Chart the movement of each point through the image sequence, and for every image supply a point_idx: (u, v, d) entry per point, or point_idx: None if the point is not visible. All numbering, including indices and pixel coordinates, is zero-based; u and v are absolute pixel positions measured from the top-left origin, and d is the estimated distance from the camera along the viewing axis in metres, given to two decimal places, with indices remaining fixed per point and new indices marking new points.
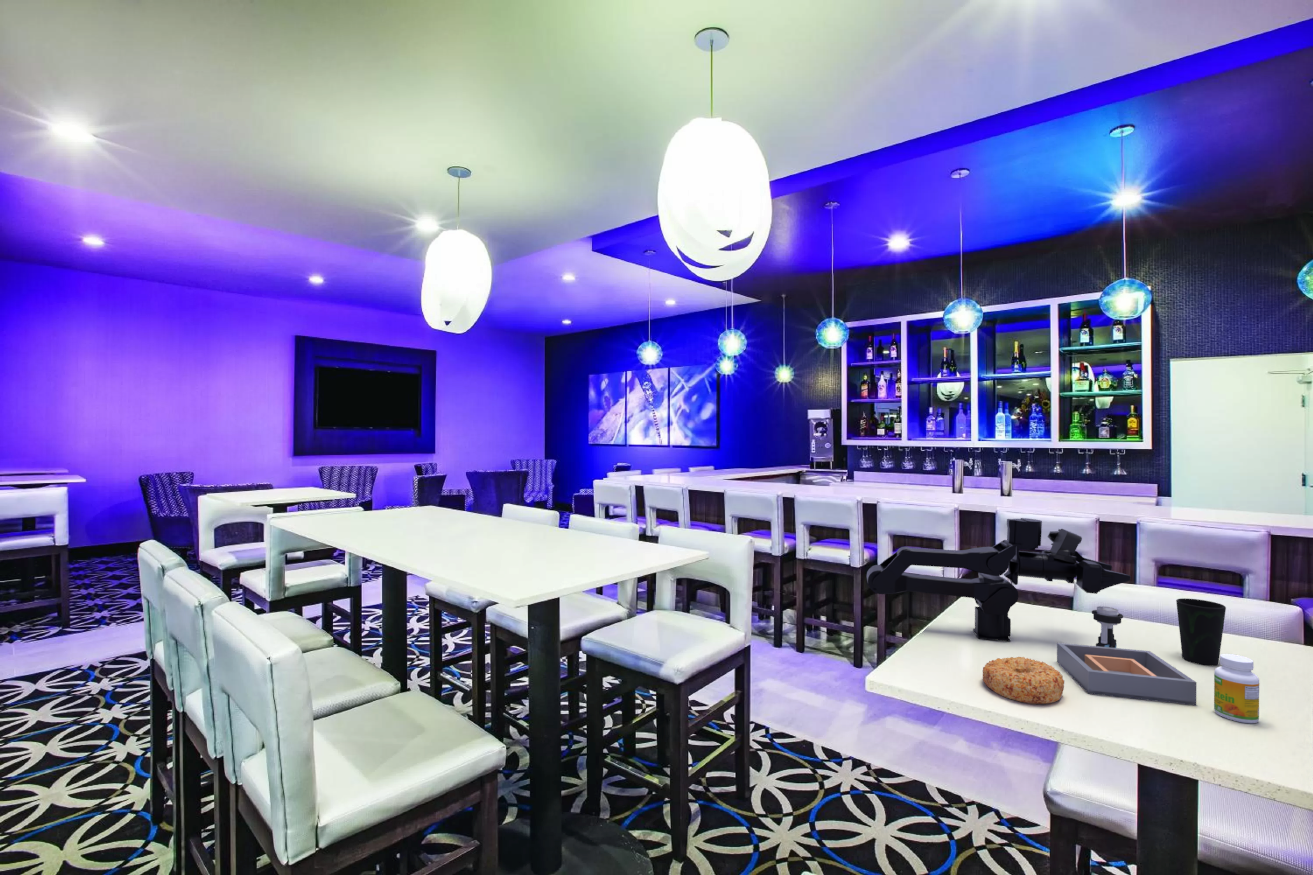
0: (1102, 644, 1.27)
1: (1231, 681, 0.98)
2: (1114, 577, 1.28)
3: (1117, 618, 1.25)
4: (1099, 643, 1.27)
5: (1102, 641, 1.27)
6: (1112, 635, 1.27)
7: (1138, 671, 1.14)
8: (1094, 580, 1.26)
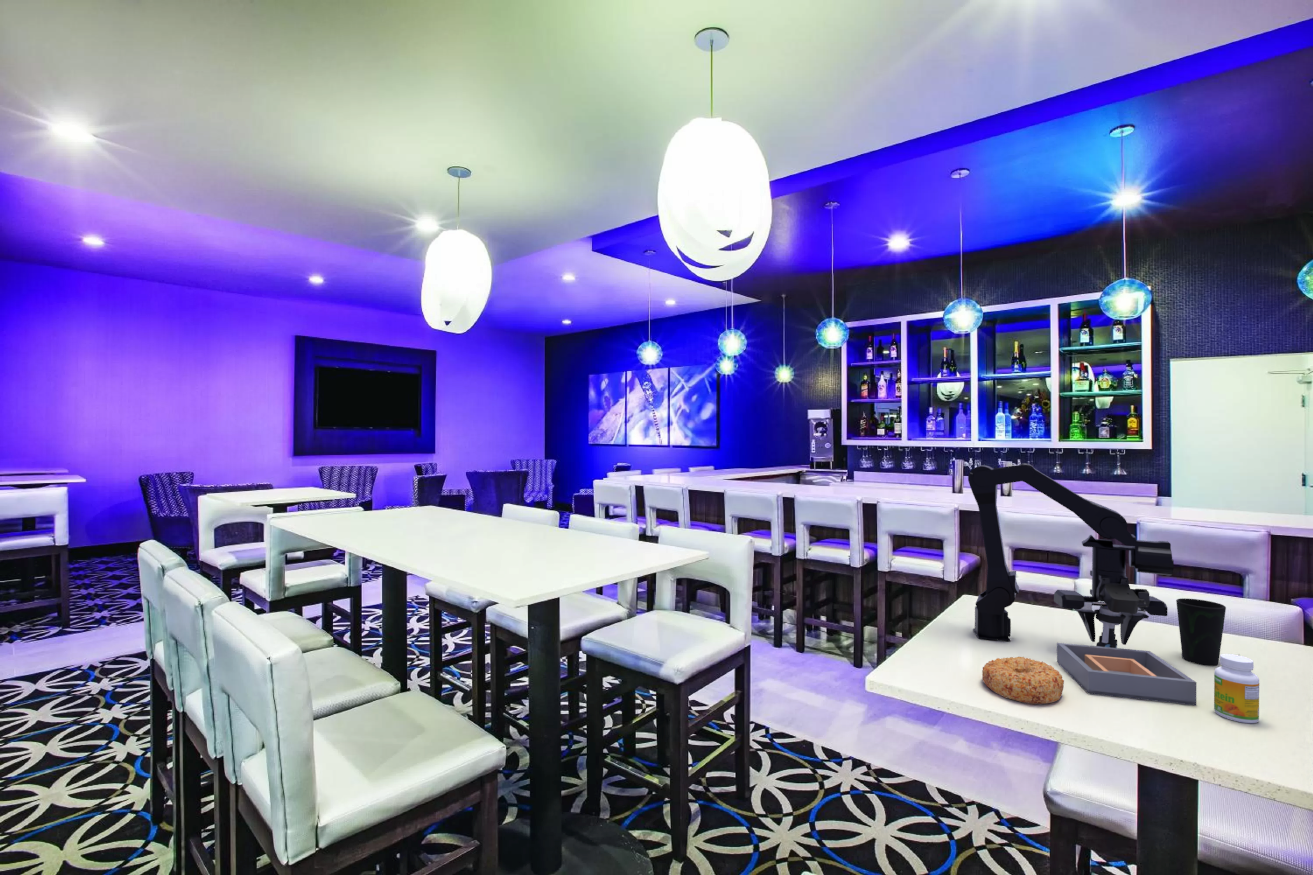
0: (1103, 643, 1.27)
1: (1231, 680, 0.98)
2: (1087, 626, 1.29)
3: (1119, 618, 1.25)
4: (1100, 642, 1.27)
5: (1103, 640, 1.27)
6: (1113, 635, 1.27)
7: (1138, 671, 1.14)
8: (1057, 600, 1.31)
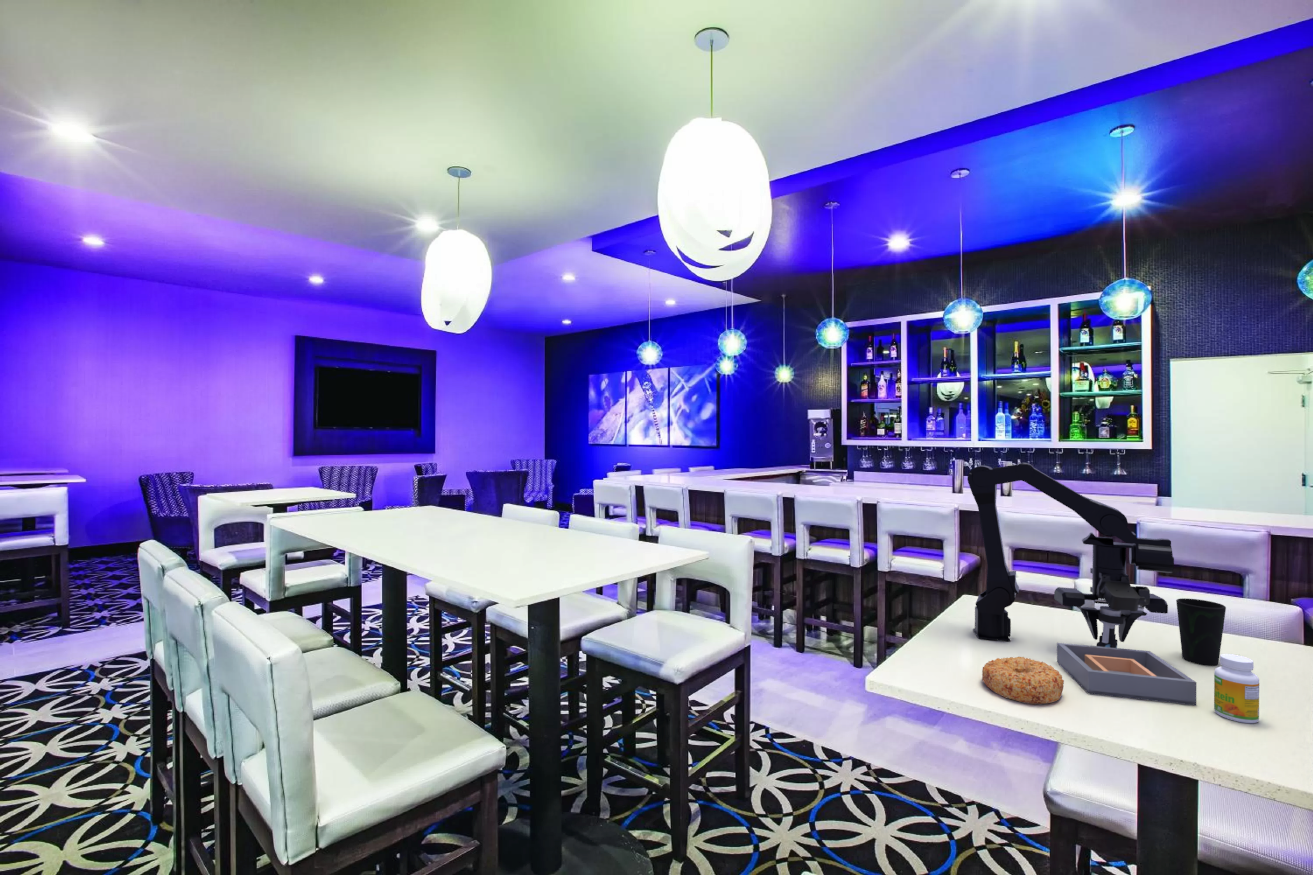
0: (1103, 643, 1.27)
1: (1231, 681, 0.98)
2: (1090, 624, 1.29)
3: (1120, 618, 1.25)
4: (1100, 642, 1.27)
5: (1103, 641, 1.27)
6: (1113, 635, 1.26)
7: (1138, 671, 1.14)
8: (1058, 598, 1.31)
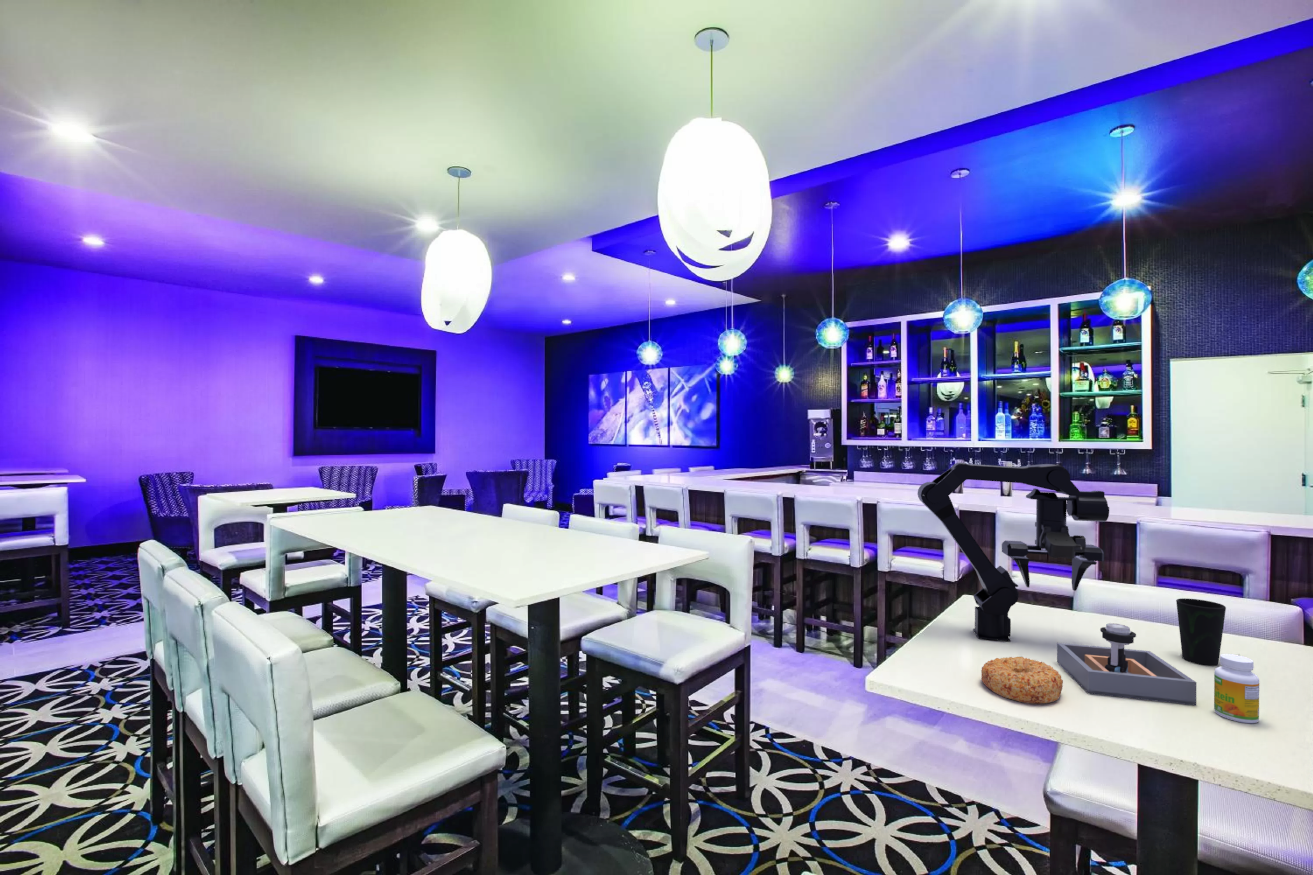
0: (1112, 666, 1.13)
1: (1231, 680, 0.98)
2: (1023, 573, 1.38)
3: (1129, 637, 1.11)
4: (1109, 665, 1.13)
5: (1112, 663, 1.13)
6: (1123, 656, 1.13)
7: (1138, 671, 1.14)
8: (1004, 550, 1.39)
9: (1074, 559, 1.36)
